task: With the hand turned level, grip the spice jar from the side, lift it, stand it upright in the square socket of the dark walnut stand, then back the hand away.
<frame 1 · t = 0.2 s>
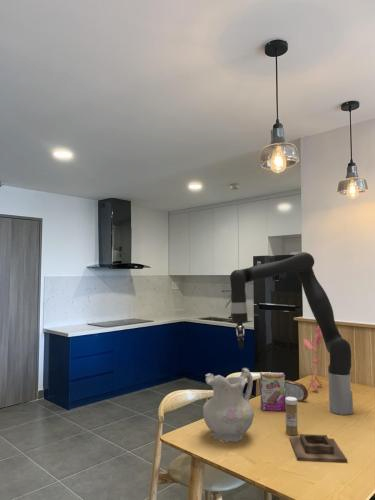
hand: (241, 346, 175), 28 cm above the table, fingers open, 8 cm apart
grey brown oval slab: (293, 399, 188), on the table
candy bar box: (273, 410, 173), on the table
walnut stand: (316, 450, 132), on the table
pink branching piece: (322, 390, 201), on the table
ceramic pitcher: (230, 435, 145), on the table
spice jar: (292, 433, 146), on the table
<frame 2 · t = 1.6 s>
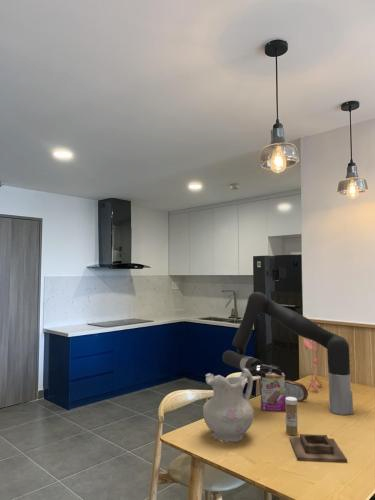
hand: (273, 374, 158), 20 cm above the table, fingers open, 8 cm apart
nothing on the table moved.
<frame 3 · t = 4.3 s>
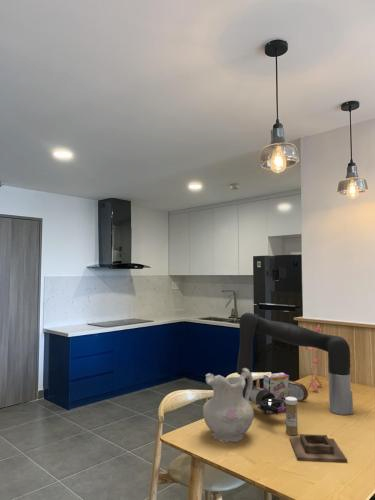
hand: (286, 410, 150), 8 cm above the table, fingers open, 8 cm apart
candy bar box: (275, 411, 171), on the table
everything else where it was.
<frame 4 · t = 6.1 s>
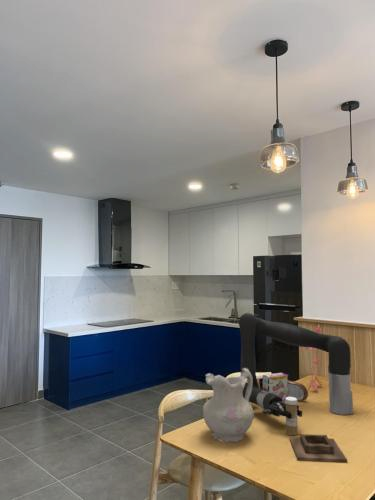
hand: (296, 415, 145), 8 cm above the table, fingers closed on spice jar, 4 cm apart
spice jar: (292, 433, 146), on the table, touching gripper
everything else where it was.
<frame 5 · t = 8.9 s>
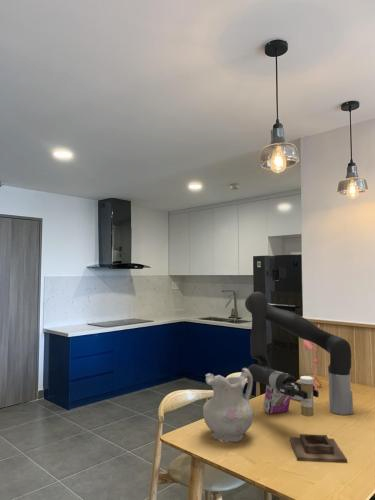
hand: (312, 395, 134), 19 cm above the table, fingers closed on spice jar, 4 cm apart
spice jar: (307, 415, 136), point 11 cm above the table, touching gripper
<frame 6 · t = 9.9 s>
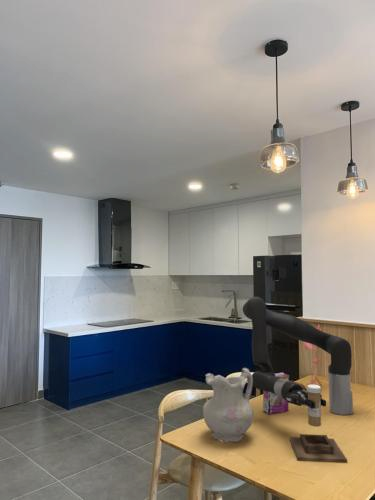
hand: (320, 404, 131), 17 cm above the table, fingers closed on spice jar, 4 cm apart
spice jar: (314, 425, 133), point 9 cm above the table, touching gripper
when the fingers open (10 cm above the table, at t = 12.0 s): spice jar drops 1 cm, resting on walnut stand.
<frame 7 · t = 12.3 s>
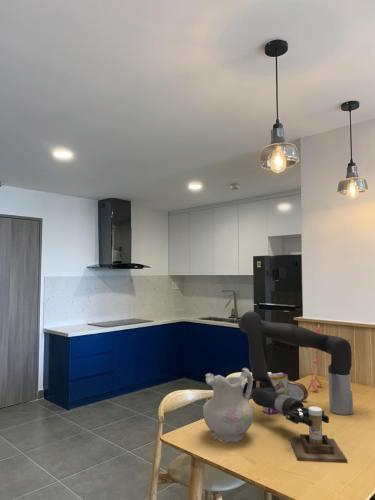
hand: (320, 421, 131), 11 cm above the table, fingers open, 7 cm apart
spice jar: (315, 447, 132), point 1 cm above the table, touching walnut stand
everything else where it was.
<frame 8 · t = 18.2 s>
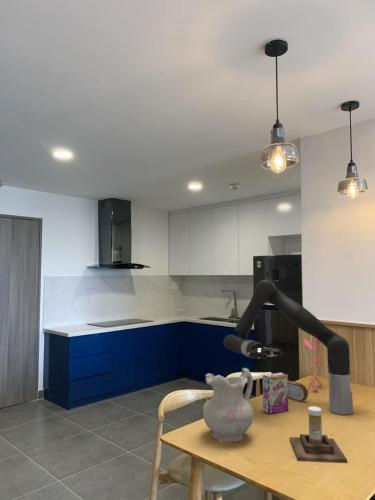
hand: (274, 355, 157), 28 cm above the table, fingers open, 8 cm apart
nothing on the table moved.
at the end: spice jar 0.1 cm off-centre on the walnut stand, point 0.8 cm above the walnut stand's base; spice jar tilted 0°; the gripper is holding nothing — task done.
